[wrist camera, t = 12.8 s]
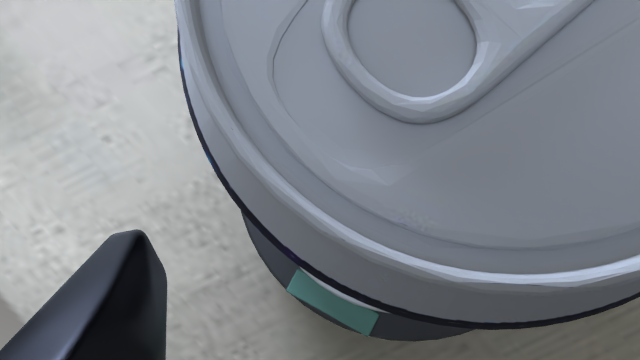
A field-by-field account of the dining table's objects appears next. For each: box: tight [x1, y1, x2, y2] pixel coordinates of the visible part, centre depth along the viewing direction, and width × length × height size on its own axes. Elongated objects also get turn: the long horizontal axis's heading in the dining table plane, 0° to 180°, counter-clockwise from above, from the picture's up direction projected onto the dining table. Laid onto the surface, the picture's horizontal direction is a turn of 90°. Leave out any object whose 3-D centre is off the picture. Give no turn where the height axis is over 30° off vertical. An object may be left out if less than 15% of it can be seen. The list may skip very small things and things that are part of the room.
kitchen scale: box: [241, 211, 475, 341], centre depth 17 cm, size 10×10×3 cm
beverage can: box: [174, 0, 640, 330], centre depth 10 cm, size 6×6×12 cm
